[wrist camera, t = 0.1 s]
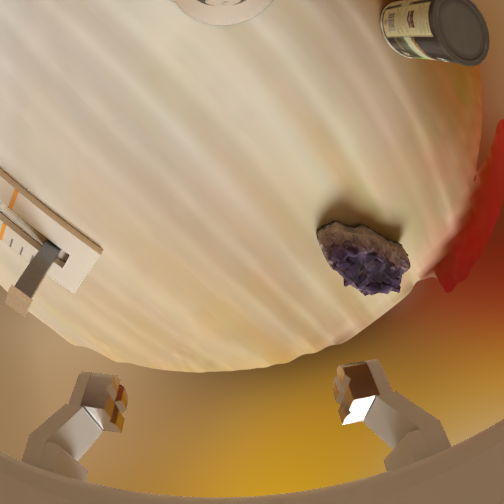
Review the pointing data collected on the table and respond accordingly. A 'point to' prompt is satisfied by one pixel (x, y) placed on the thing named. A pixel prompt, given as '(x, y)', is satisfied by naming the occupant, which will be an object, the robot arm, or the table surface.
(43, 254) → the fader tab
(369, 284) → the geode
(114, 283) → the table surface
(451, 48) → the coffee can
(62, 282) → the console
